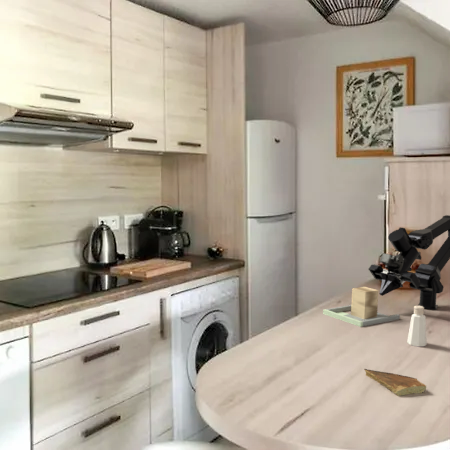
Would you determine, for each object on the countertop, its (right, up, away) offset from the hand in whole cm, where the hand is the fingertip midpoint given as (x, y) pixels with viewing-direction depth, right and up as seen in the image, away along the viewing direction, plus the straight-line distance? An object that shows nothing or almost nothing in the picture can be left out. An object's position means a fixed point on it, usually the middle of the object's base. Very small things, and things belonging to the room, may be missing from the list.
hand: (380, 294), depth 182 cm
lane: (-8, -8, -4) cm, 12 cm away
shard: (-14, -14, -59) cm, 62 cm away
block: (-7, -7, -3) cm, 10 cm away
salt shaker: (+2, -11, -28) cm, 30 cm away
